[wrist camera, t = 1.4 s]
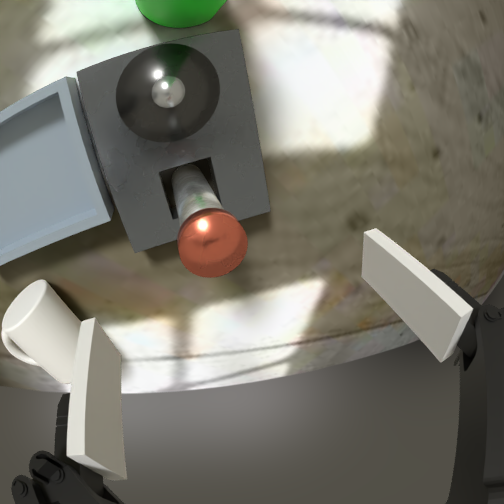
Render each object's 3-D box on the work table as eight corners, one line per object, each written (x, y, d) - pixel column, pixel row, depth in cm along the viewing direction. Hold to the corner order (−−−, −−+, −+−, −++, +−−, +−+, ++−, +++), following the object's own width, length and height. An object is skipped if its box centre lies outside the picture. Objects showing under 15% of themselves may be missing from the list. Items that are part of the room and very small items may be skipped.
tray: (-10, 260, 25) (-19, 274, 22) (-53, 155, 17) (-67, 162, 15) (114, 208, 28) (110, 220, 25) (74, 78, 20) (65, 76, 18)
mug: (53, 268, 28) (34, 314, 22) (101, 326, 34) (96, 374, 28) (-3, 306, 28) (-22, 349, 21) (42, 353, 33) (34, 397, 27)
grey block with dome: (136, 239, 30) (133, 273, 25) (84, 74, 20) (64, 69, 15) (260, 200, 32) (284, 226, 27) (230, 35, 23) (251, 20, 17)
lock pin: (173, 203, 30) (190, 285, 18) (162, 167, 27) (169, 228, 16) (211, 192, 30) (252, 265, 19) (202, 155, 28) (240, 206, 16)
